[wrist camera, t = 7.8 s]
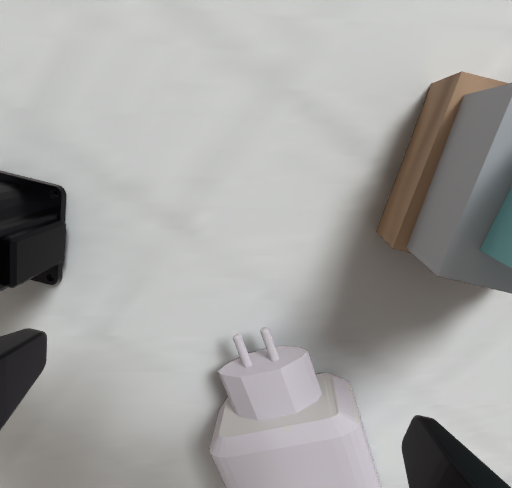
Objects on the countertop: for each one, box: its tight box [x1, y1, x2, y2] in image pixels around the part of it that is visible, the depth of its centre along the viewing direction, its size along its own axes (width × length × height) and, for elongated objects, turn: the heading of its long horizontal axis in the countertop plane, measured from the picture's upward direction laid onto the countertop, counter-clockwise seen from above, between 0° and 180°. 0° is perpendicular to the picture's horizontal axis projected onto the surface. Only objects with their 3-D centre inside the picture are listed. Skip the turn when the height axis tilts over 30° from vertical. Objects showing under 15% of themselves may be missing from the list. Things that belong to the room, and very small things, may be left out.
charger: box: [210, 327, 382, 488], centre depth 21 cm, size 5×9×15 cm
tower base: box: [376, 72, 509, 253], centre depth 17 cm, size 8×8×4 cm
